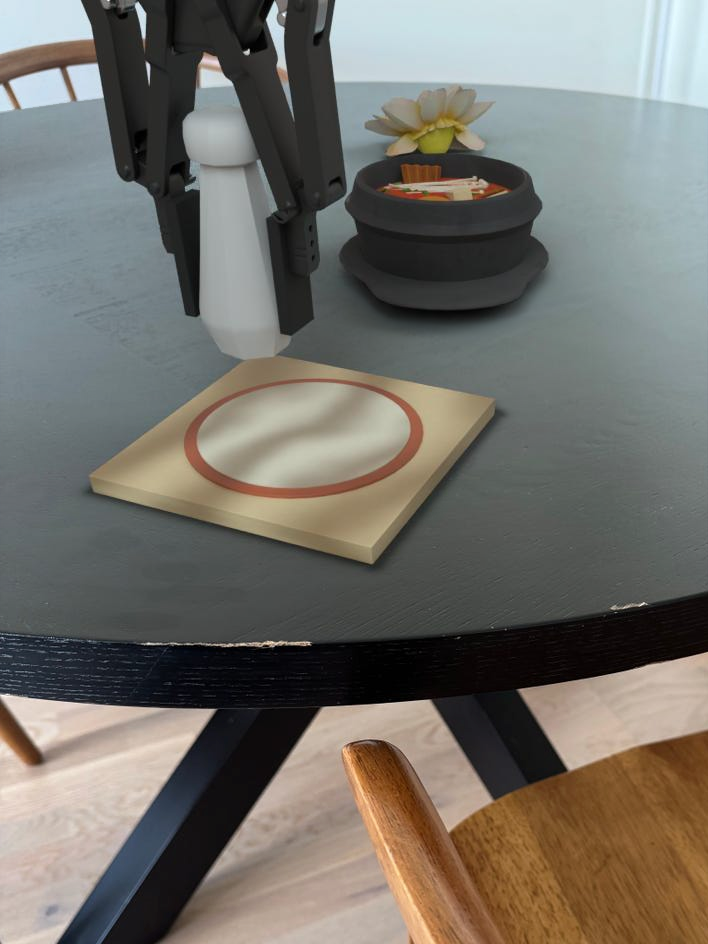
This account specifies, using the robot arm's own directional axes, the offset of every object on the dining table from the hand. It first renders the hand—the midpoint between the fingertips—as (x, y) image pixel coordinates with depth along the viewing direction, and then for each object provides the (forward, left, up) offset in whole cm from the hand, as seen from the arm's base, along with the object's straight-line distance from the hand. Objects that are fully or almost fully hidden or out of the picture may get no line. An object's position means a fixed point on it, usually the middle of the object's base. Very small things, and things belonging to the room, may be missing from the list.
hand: (249, 316), depth 57 cm
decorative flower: (-18, +68, -9) cm, 71 cm away
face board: (+3, 0, -8) cm, 9 cm away
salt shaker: (0, 0, -2) cm, 2 cm away
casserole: (-1, +32, -9) cm, 33 cm away
